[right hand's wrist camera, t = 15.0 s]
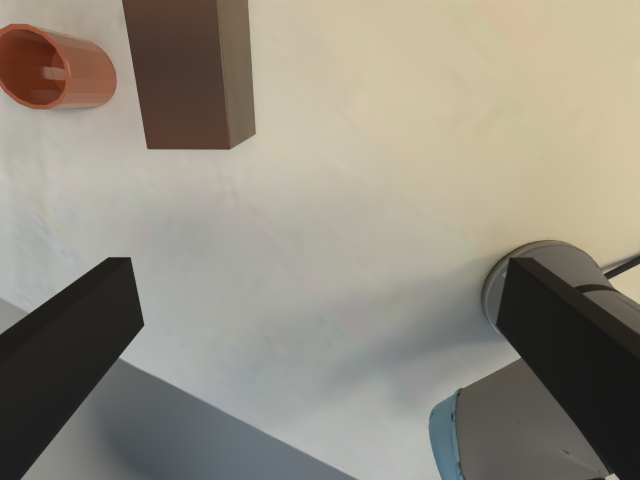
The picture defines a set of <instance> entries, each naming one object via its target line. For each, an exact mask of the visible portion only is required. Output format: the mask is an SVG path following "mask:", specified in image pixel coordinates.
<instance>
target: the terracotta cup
mask: <svg viewBox="0 0 640 480" xmlns="http://www.w3.org/2000/svg"><path fill="white" fill-rule="evenodd" d="M0 86H1V88H2V89H3V91H5V93H7V94H8V95H9V96H10V97H11V98H13V99H14V100H15V101H16V102H18V103H19V104H22V105H24V106H27V107H29V108H32V109H70V108H94V107H98V106H101V105H103V104H105V103H106V102H108V101H109V100H110V99H111V97H112V96H113V94H114V91H115V88H116V74H115V70H114V67H113V64H112V62H111V61H110V59H109V57H108V56H107V55H106V53H105V52H104V51H103V50H102V49H101V48H99V47H98V46H97V45H95V44H94V43H92V42H90V41H87V40H84V39H81V38H79V37H75V36H71V35H67V34H63V33H59V32H55V31H51V30H47V29H44V28H40V27H36V26H32V25H28V24H10V25H8V26H6V27H4V28H2V29H0Z"/></svg>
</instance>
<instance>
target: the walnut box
mask: <svg viewBox="0 0 640 480" xmlns="http://www.w3.org/2000/svg"><path fill="white" fill-rule="evenodd" d="M122 2H123V8H124V14H125V20H126V26H127V32H128V38H129V43H130V49H131V55H132V61H133V67H134V73H135V79H136V85H137V91H138V97H139V102H140V108H141V114H142V120H143V126H144V132H145V138H146V144H147V149H217V150H230V149H232V148H233V147H235V146H237V145H238V144H240V143H242V142H243V141H245V140H247V139H248V138H250V137H252V136H253V135H255V134H256V131H255V114H254V97H253V80H252V63H251V46H250V29H249V12H248V0H122Z"/></svg>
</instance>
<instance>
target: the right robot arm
mask: <svg viewBox="0 0 640 480" xmlns="http://www.w3.org/2000/svg"><path fill="white" fill-rule="evenodd" d="M638 264H640V256H639V257H637V258H635V259H633V260H631V261H629V262H627V263H625V264H623V265H621V266H619V267H617V268H615V269H613V270H611V271H609V272H607V273H605V274H603V273H602V271H601V269H600V267H599V266H598V264H597V263H596V262H595V261H594V260H593V259H592V257H590V256H589V255H588V254H587V253H585V252H584V251H582V250H580V249H578V248H577V247H575V246H573V245H571V244H568V243H565V242H560V241H540V242H535V243H531V244H528V245H525V246H523V247H521V248H519V249H517V250H515V251H513V252H511V253H510V254H509V255H507V256H506V257H505V258H503V259H502V260H501V261H500V262H499V263H498V264H497V265H496V266H495V267H494V269H493V270H492V271H491V273H490V274H489V276H488V278H487V280H486V282H485V285H484V288H483V292H482V308H483V311H484V314H485V316H486V318H487V320H488V321H489V322H490V324H491V325H492V326H493V327H494V329H495V330H496V331H497V332H498V333H499V334H501V335H502V336H503V337H505V338H506V339H507V340H508V341H509V342H510V344H511V345H512V346H513V347H514V349H515V350H516V351H517V352H518V354H519V355H520V356H521V357H522V358H520V359H518V360H516V361H515V362H513V363H511V364H509V365H507V366H505V367H503V368H502V369H500V370H498V371H496V372H494V373H492V374H490V375H488V376H486V377H485V378H483V379H481V380H479V381H477V382H475V383H473V384H471V385H469V386H467V387H465V388H460V389H458V390H457V391H456V392H455V393H454V394H453V395H452V396H450V397H449V398H447V399H445V400H444V401H442V402H440V403H439V404H437V405H436V406H435V407H434V408H433V409H432V411H431V414H430V417H429V436H430V442H431V446H432V451H433V454H434V458H435V461H436V464H437V467H438V470H439V473H440V476H441V479H442V480H606V479H605V477H607V476H609V475H611V474H614V473H615V475H616V476H617V477H618V478H619V480H640V304H638V303H636V302H635V301H633V300H632V299H630V298H628V297H627V296H625V295H623V294H622V293H620V292H619V291H617V290H616V289H614V287H613V286H612V285H611V283H610V282H609V281H608V279H610V278H612V277H614V276H616V275H618V274H620V273H622V272H624V271H626V270H628V269H630V268H632V267H634V266H636V265H638ZM143 326H144V321H143V316H142V311H141V306H140V301H139V297H138V292H137V287H136V282H135V277H134V272H133V267H132V262H131V257H108V258H107V259H105V260H104V261H103V262H101V263H100V264H98V265H97V266H96V267H94V268H93V269H91V270H90V271H89V272H87V273H86V274H84V275H83V276H82V277H80V278H79V279H77V280H76V281H75V282H73V283H72V284H70V285H69V286H68V287H66V288H65V289H63V290H62V291H61V292H59V293H58V294H56V295H55V296H54V297H52V298H51V299H49V300H48V301H47V302H45V303H44V304H42V305H41V306H40V307H38V308H37V309H35V310H34V311H33V312H31V313H30V314H28V315H27V316H26V317H24V318H23V319H21V320H20V321H19V322H17V323H16V324H14V325H13V326H12V327H10V328H9V329H7V330H6V331H5V332H3V333H2V334H0V480H20V479H21V478H22V477H23V476H24V475H25V473H26V472H27V471H28V470H29V468H30V467H31V466H32V465H33V463H34V462H35V461H36V460H37V458H38V457H39V456H40V455H41V453H42V452H43V451H44V450H45V448H46V447H47V446H48V445H49V443H50V442H51V441H52V440H53V438H54V437H55V436H56V435H57V433H58V432H59V431H60V430H61V428H62V427H63V426H64V425H65V423H66V422H67V421H68V420H69V418H70V417H71V416H72V415H73V413H74V412H75V411H76V410H77V408H78V407H79V406H80V405H81V403H82V402H83V401H84V400H85V398H86V397H87V396H88V395H89V394H90V392H91V391H92V390H93V388H94V387H95V386H96V385H97V384H98V382H99V381H100V380H101V379H102V377H103V376H104V375H105V374H106V372H107V371H108V370H109V369H110V367H111V366H112V365H113V364H114V362H115V361H116V360H117V359H118V357H119V356H120V355H121V354H122V352H123V351H124V350H125V349H126V347H127V346H128V345H129V344H130V342H131V341H132V340H133V339H134V337H135V336H136V335H137V334H138V332H139V331H140V330H141V329H142V327H143Z"/></svg>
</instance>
